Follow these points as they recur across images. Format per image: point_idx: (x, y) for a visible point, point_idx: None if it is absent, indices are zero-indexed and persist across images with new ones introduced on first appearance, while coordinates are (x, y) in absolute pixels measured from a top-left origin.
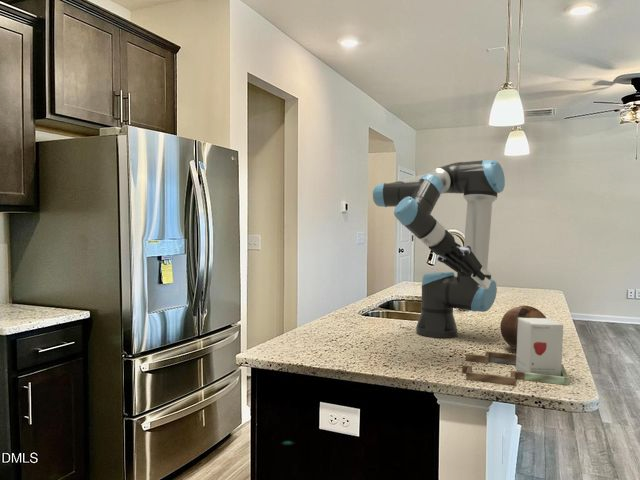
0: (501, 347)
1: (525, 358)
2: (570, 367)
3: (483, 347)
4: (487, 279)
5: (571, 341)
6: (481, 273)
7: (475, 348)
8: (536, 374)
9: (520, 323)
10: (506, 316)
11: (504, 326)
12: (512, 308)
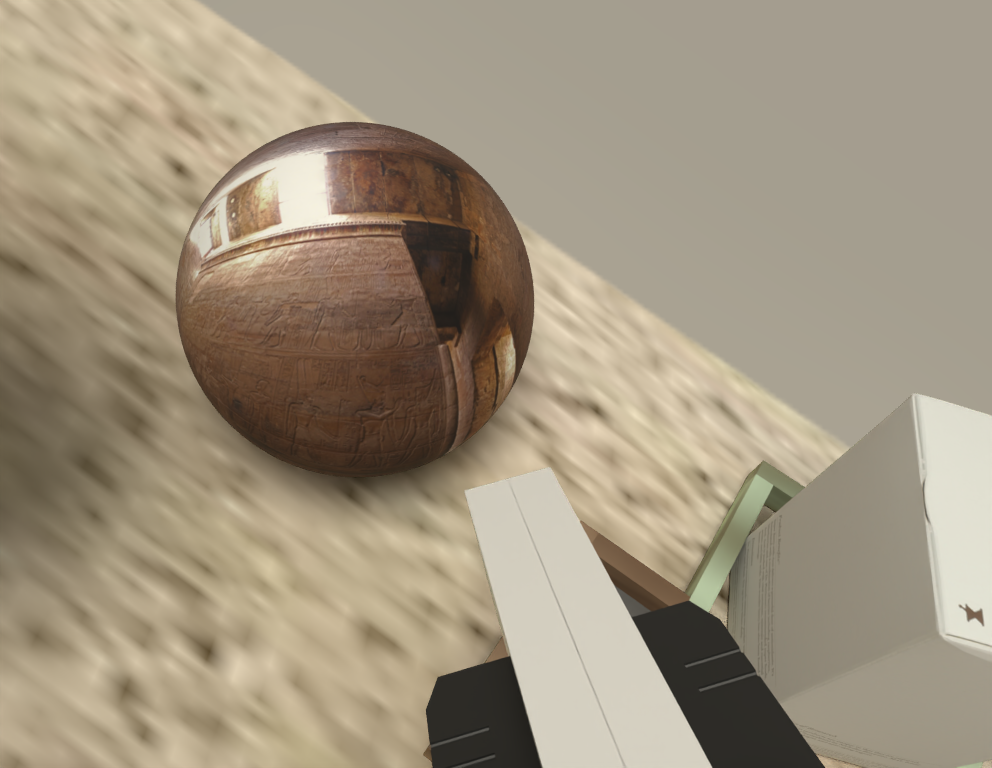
0: (223, 463)
1: (928, 753)
2: (693, 397)
3: (172, 590)
4: (578, 526)
5: (251, 51)
6: (782, 732)
7: (174, 676)
8: (977, 764)
9: (979, 668)
10: (321, 371)
11: (338, 444)
12: (302, 261)
